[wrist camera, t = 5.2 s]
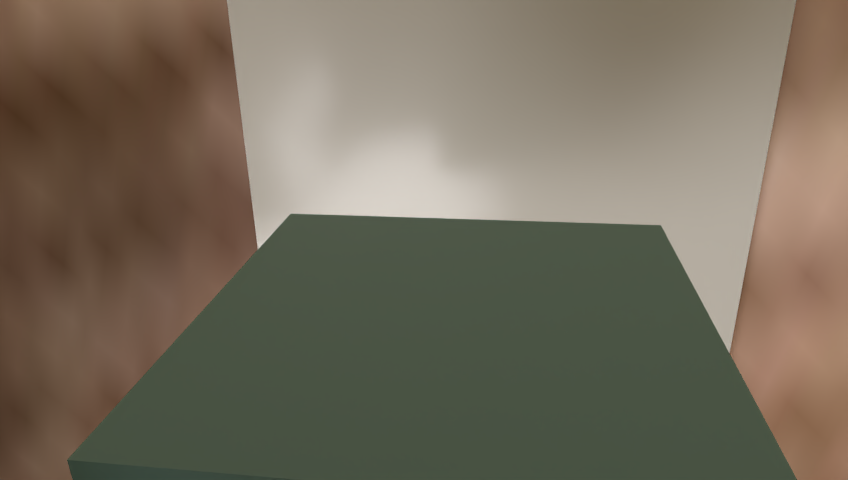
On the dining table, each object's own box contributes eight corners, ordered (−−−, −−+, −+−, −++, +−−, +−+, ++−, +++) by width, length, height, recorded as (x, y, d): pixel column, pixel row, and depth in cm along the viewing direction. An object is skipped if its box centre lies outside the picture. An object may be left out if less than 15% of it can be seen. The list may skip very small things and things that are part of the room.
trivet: (282, 368, 23) (274, 381, 22) (227, -90, 17) (215, -92, 16) (711, 394, 21) (718, 410, 20) (803, -107, 15) (817, -111, 15)
